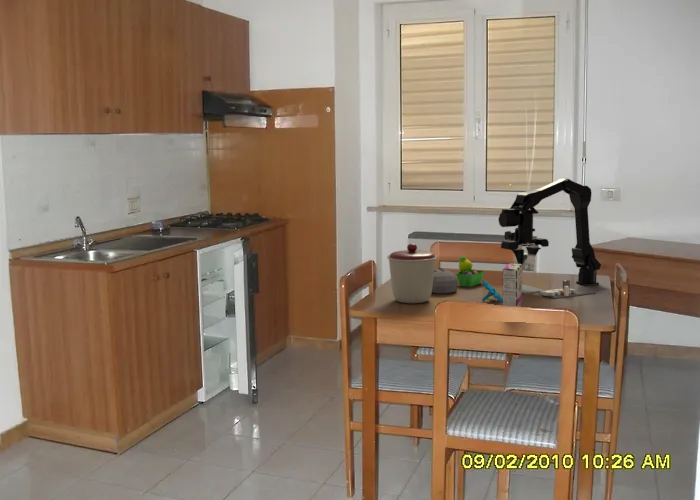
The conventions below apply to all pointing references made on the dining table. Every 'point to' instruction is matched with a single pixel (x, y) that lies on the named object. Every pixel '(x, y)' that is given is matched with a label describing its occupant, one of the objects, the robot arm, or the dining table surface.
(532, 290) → the pad
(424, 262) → the canister
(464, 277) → the fruit basket
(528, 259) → the chain link
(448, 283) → the soft grey pack
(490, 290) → the blue bumpy stand
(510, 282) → the candy bar box
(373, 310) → the dining table surface
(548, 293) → the rack
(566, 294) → the rail base
